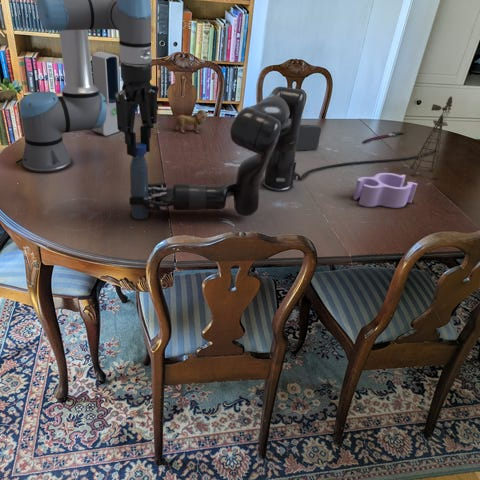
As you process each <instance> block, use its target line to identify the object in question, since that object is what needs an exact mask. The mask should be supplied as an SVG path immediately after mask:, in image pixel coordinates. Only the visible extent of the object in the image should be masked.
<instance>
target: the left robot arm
mask: <svg viewBox="0 0 480 480" xmlns="http://www.w3.org/2000/svg"><path fill="white" fill-rule="evenodd" d="M32 1H33V2H34V3H35V5H36V13H37V17H38V20H39V21H40V25H41V26H42V28H43V29H45V30H48V31H49V30H50V31H58V33H59V34H58V35H59V43H60V51H61V57H62V65H63V66H62V67H63V73H64V80H65V85H64V86H63V87H62V89H61V95H60V96H59V95H58V94H57V93H56V92H54V91H45V90H44V91H43V90H42V91H36V92H32V93H28V94H26V95H24V96H23V97H22V98H21V99H20V100H19V103H18V104H19V116H20V119H21V125H22V132H23V136H24V148H23V153H22V158H21V157H20V159H18V160H16V161H15V164H16V165H17V164H19V163H22V166H23V168H24V169H25V170H27V171H29V172H33V173H39V174H46V173H56V172H61V171H63V170H66V169H67V168H69V167H70V166H71V163H72V159H71V155H70V153H69V151H68V150H67V149H68V148H67V147H66V145H65V143H64V140H63V134H64V133H74V132H81V131H93V129H96V128H100V127H102V126H103V125H104V123H105V120H106V116H107V106H106V103H105V98H104V96H103V95H102V94H101V93H99V91H98V88H97V87H96V86H95V85H94V78H93V68H92V61H91V59H92V58H91V51H90V42H89V32H88V31H89V30H91V31H92V30H93V31H97V30H99V31H100V30H101V31H103V30H106V31H107V30H115V31H116V30H117V31H118V38H119V39H118V43H119V61H120V62H121V63H120V68H119V69H120V78H121V80H122V86H121V90H120V92H119V93H116V92H115V93H114V94H113V96H114V98H115V101H116V112H117V126H118V130H119V132H122V133H124V144H125V145H126V155H128V156H130V157H136V142H137V134H136V133H137V132H134V128H135V120H136V112H137V108H138V109H139V113H140V118H141V123H142V124H141V125H140V126H139V130H140V131H139V133H140V135H139V136H140V142H141V143H145V144H146V153H150V152H151V146H150V142H151V137H152V129H154V128H155V125H156V124H157V122H158V93H159V89H160V88H159V86H157V85H154V84H151V81H152V80H153V66H152V65H151V63H152V57H153V56H152V15H153V11H152V5H151V3H152V0H32Z"/></svg>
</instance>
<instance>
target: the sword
mask: <svg viewBox="0 0 480 480" xmlns="http://www.w3.org/2000/svg"><path fill="white" fill-rule="evenodd" d="M401 132H402V131H396V132H394V131H392V132H391V133H387V134H383V135H377V136H374V137H369V138H367V139H365V140H363V144H365V143H367V142H370V141H373V140H377V139H382V138H387V137H393V136H397V135H401V134H402V133H401ZM406 133H407V131H406V132H405V133H404V134H406Z"/></svg>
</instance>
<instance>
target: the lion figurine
mask: <svg viewBox="0 0 480 480" xmlns="http://www.w3.org/2000/svg"><path fill="white" fill-rule="evenodd" d="M206 118H207V111H206V110H204V109H199V110H197V112H195V113H194V114H193V115H191V116H188V115H184V114H181V115H178V116H177V117H176V119H175V122H174V126H173V128H172V129H171V131H175V130H176V131H178V130H180V132H181V133H183V134H184V133H185V132H186V131H185V130H184V129H183V127H184V125H187V126H193V128H192V129H193V131H195V133H197V134H198V133H200V131H199V126H201V125H203V123H204V122H205V121H206ZM178 126H179V128H178Z"/></svg>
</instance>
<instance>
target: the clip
mask: <svg viewBox="0 0 480 480" xmlns="http://www.w3.org/2000/svg"><path fill="white" fill-rule="evenodd" d="M406 177H407V175H406V174H397V173H393V172H378V173H376V174H375V175H374V176H361V177H358V178H357V181H356V185H355V189H354V192H353V197H352V199H353V200H355V201H357V200H358V199H359V202H358V205H360V206H363V207H367V208H372V207H376V206H383V207H386V208H387V207H388V208H395V209H398V208H403V207H405V206H406V205H407V203H409V204H412V202H413V200H414V196H415V193H416V190H417V187H418V183H417V182H412V181H407V183H406V185H405V186H404V183H405V181H406Z"/></svg>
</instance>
